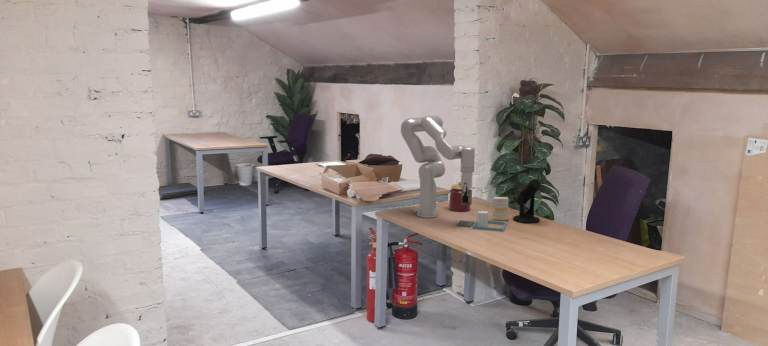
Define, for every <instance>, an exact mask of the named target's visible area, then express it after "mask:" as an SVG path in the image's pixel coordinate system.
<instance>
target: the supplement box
mask: <svg viewBox="0 0 768 346" xmlns="http://www.w3.org/2000/svg"><path fill="white" fill-rule="evenodd" d="M509 201H510V198H509V197H508V196H493V204H492V205H493V207H492V213H493V214H492V219H493V221H508V220H509Z"/></svg>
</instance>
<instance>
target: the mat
mask: <svg viewBox="0 0 768 346" xmlns="http://www.w3.org/2000/svg"><path fill="white" fill-rule="evenodd" d="M474 223H475V221H473V220H472V221H471V220H464V219H463V220H461V219H460V220H459V221H458V222H457V223H456V227H464V228H465V227H466V228H472V227H471V226H473V224H474Z"/></svg>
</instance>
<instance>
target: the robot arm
mask: <svg viewBox="0 0 768 346" xmlns="http://www.w3.org/2000/svg"><path fill="white" fill-rule="evenodd" d="M443 123H444V121H443V119H442V118H441V117H440V116H439V115H428V116H424V117H410V118H409V117H408V118H407V119H404V121H402V123H401V125H400V133H401V137H402V138H403V140H404V141H405V143H406V145H407V147H408V148H409V149H408V150H410V153H411V155H412V157H413V160H414V161H415V162H416V163H419V164H420V167H419V168H418V178H419V206H418V207H415V206H414V207H413V208H412V211H413V212H416V216H417V217H419V218H423V219H425V218H426V219H431V218H437V217H438V216H439V213H438V212H436V211H437V209H436V208H437V206H436V205H437V184H436V182H435V178H436V179H437V178H441V177H443V176H444V175H445V173H446V166H445V163H444V161H443V160H442V158H441V156H442V157H443V158H444V159H446V160H449V161H453V160H458V159H459V160H460V171H459V172H460V173H461V175H460V182H461V190H463V203H468V202H469V196H468V191H469V190H472V187H473V173H475V160H476V159H475V157H476V149H475V147H474V146H466V145H461V144H458V145H449V144H448V143H447V141H445V138H446V136H447V131H446V129H444V128H443V125H444V124H443ZM420 132H425V133H426V134H427V135H428V136H429V137H430V138H431V139H432V140H433V141H434V144H435V147H436V148H435V147H434V146H432V145H431V146H430V145H424V144H423V142H422V139H421V138H420V136H419V135H418V134H417V133H420ZM466 189H467V190H466ZM466 191H467V192H466Z"/></svg>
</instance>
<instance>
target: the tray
mask: <svg viewBox="0 0 768 346" xmlns="http://www.w3.org/2000/svg"><path fill="white" fill-rule="evenodd" d="M489 224H490V225H500V226H502V227H492V226H487V227H482V226H477V219H476V220H475V221H474V224H473V225H472V227H471V228H472V229H473V230H484V231H493V232H494V231H495V232H502V233H503V232H505V231H504V230H505V229H506V226H507V221H500V220H488V225H489Z"/></svg>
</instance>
